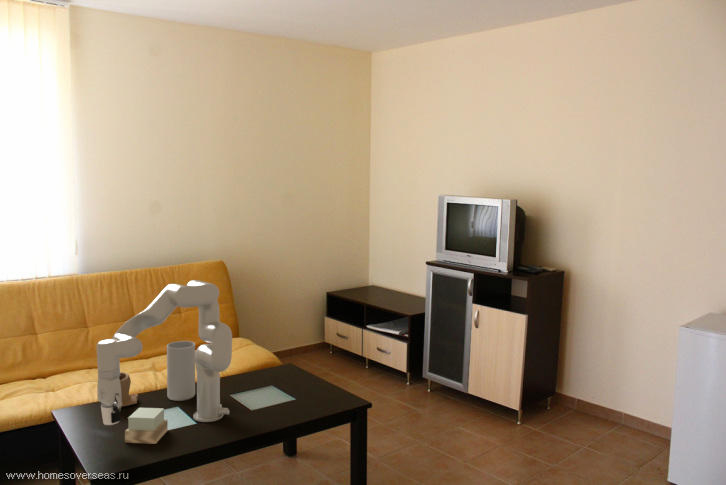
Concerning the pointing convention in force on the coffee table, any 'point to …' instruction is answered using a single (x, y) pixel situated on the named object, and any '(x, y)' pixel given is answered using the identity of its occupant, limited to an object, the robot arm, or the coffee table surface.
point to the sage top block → (146, 419)
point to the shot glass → (107, 414)
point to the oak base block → (146, 434)
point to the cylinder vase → (180, 370)
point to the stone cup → (126, 390)
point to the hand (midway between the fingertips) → (111, 418)
